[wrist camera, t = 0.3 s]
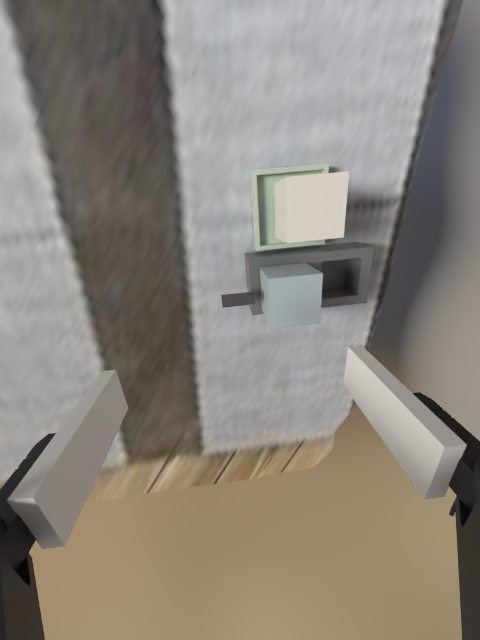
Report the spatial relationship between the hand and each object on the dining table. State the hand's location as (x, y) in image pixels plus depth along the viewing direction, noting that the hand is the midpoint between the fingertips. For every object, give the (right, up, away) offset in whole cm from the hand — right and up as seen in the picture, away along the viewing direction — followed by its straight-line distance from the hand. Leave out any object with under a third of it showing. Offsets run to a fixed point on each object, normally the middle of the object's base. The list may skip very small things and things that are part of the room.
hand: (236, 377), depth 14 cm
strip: (+8, +10, +25) cm, 28 cm away
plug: (+7, +19, +20) cm, 29 cm away
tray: (+7, +19, +21) cm, 29 cm away
